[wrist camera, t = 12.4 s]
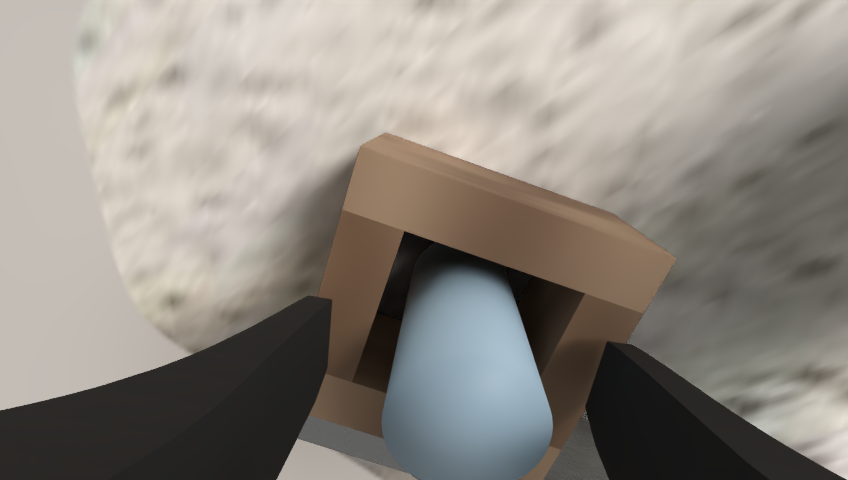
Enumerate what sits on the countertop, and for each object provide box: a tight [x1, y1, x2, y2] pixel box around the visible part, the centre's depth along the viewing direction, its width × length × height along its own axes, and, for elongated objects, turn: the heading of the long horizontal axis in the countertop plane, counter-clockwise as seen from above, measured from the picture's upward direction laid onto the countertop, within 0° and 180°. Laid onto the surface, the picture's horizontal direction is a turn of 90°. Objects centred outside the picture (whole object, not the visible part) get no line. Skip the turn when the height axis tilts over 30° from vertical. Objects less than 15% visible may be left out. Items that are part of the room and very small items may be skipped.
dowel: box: [381, 242, 553, 480], centre depth 11 cm, size 3×3×7 cm
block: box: [309, 133, 677, 480], centre depth 13 cm, size 8×8×4 cm
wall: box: [298, 415, 609, 480], centre depth 14 cm, size 12×1×4 cm, turn 71°
